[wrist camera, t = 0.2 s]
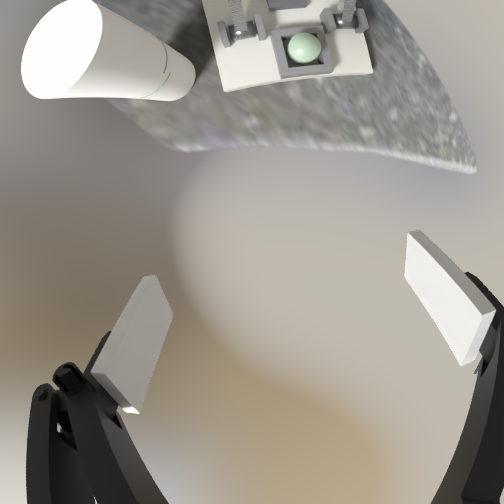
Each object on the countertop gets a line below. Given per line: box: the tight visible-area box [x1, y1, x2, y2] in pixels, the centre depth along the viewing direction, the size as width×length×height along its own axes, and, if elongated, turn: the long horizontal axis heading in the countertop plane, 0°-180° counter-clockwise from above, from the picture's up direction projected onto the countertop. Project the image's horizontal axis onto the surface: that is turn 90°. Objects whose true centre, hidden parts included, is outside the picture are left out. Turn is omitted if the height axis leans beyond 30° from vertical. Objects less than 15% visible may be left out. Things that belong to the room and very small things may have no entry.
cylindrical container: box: [21, 0, 196, 101], centre depth 21 cm, size 7×7×25 cm
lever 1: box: [227, 0, 256, 41], centre depth 21 cm, size 3×3×13 cm
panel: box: [202, 0, 373, 92], centre depth 26 cm, size 15×20×6 cm
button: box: [287, 33, 321, 64], centre depth 25 cm, size 4×4×3 cm
